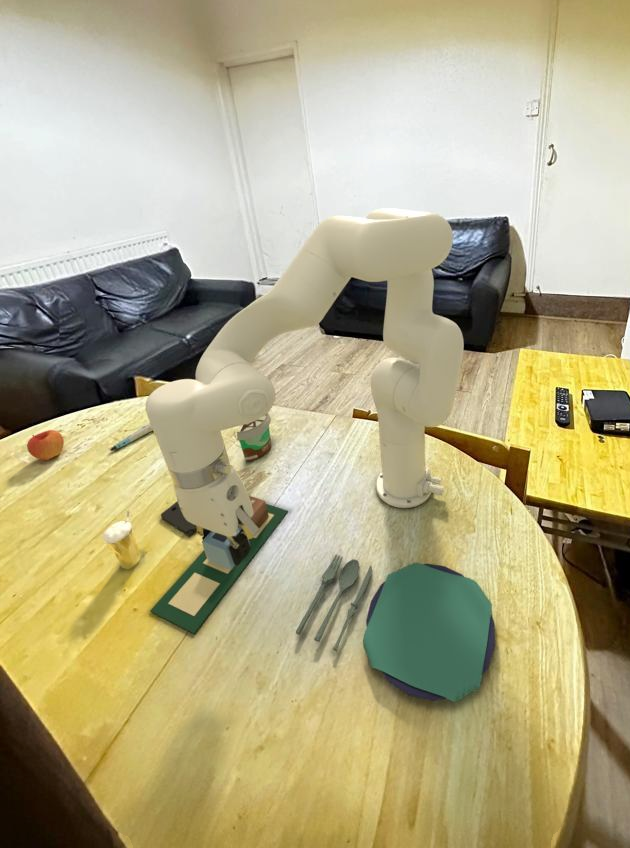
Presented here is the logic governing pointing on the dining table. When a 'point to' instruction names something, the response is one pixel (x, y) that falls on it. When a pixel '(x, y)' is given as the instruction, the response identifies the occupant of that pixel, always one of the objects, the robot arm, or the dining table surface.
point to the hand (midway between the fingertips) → (229, 551)
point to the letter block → (259, 511)
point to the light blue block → (219, 549)
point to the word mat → (208, 582)
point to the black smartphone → (178, 519)
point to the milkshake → (123, 543)
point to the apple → (46, 445)
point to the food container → (255, 438)
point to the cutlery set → (421, 628)
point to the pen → (133, 436)
